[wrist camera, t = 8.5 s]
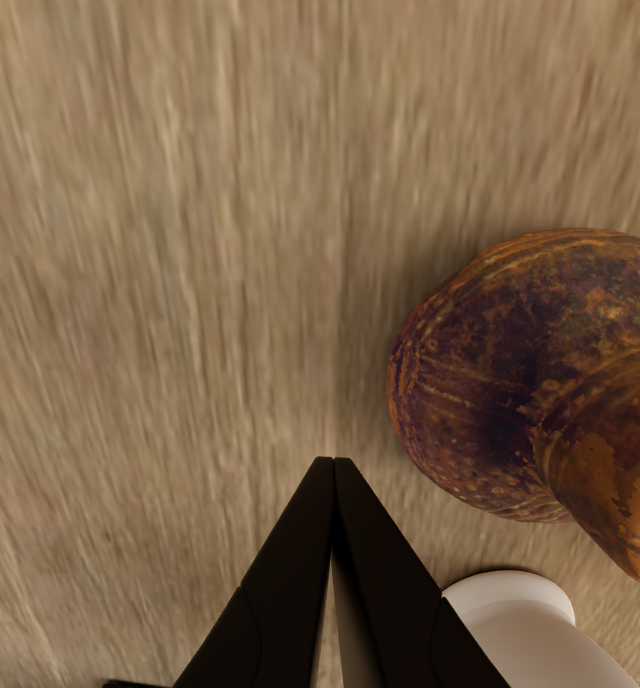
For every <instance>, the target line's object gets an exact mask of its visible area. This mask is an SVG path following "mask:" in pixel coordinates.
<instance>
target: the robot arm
mask: <svg viewBox="0 0 640 688" xmlns="http://www.w3.org/2000/svg"><path fill="white" fill-rule="evenodd" d="M330 559H331V565H332V577H333V586H334V596H335V606H336V615H337V625H338V635H339V645H340V654H341V664H342V674H343V684H344V688H511V686H510V685H509V684H508V683H507V681H506V680H505V679H504V677H503V676H502V675H501V674H500V672H499V671H498V670H497V668H496V667H495V666H494V665H493V663H492V662H491V661H490V659H489V658H488V657H487V655H486V654H485V652H484V651H483V650H482V648H481V647H480V645H479V644H478V643H477V641H476V640H475V638H474V637H473V636H472V634H471V633H470V631H469V630H468V629H467V627H466V626H465V624H464V623H463V622H462V620H461V619H460V617H459V616H458V614H457V613H456V611H455V610H454V608H453V607H452V605H451V604H450V603H449V601H448V600H447V598H446V597H442V591H441V590H440V588H439V587H438V585H437V584H436V582H435V581H434V579H433V578H432V577H431V575H430V574H429V572H428V571H427V569H426V568H425V566H424V565H423V563H422V562H421V560H420V559H419V558H418V556H417V555H416V553H415V552H414V550H413V549H412V547H411V546H410V544H409V543H408V541H407V540H406V539H405V537H404V536H403V534H402V533H401V531H400V530H399V528H398V527H397V525H396V524H395V522H394V521H393V520H392V518H391V517H390V515H389V514H388V512H387V511H386V509H385V508H384V506H383V505H382V503H381V502H380V501H379V499H378V498H377V496H376V495H375V493H374V492H373V490H372V489H371V487H370V486H369V484H368V483H367V482H366V480H365V479H364V477H363V476H362V474H361V473H360V471H359V470H358V468H357V467H356V465H355V464H354V463H353V461H352V460H351V459H350V458H343V457H335V458H334V460H333V458H332V457H322V456H318V457H316V458H315V459H314V461H313V463H312V464H311V466H310V468H309V469H308V471H307V473H306V474H305V476H304V478H303V479H302V481H301V483H300V484H299V486H298V488H297V489H296V491H295V493H294V494H293V496H292V498H291V499H290V501H289V503H288V505H287V506H286V508H285V510H284V511H283V513H282V515H281V516H280V518H279V520H278V521H277V523H276V525H275V526H274V528H273V530H272V531H271V533H270V535H269V536H268V538H267V540H266V541H265V543H264V545H263V546H262V548H261V550H260V551H259V553H258V555H257V556H256V558H255V560H254V561H253V563H252V565H251V566H250V568H249V570H248V571H247V573H246V575H245V576H244V578H243V580H242V581H241V587H240V586H239V587H238V588H237V589H236V591H235V592H234V594H233V596H232V597H231V599H230V601H229V602H228V604H227V606H226V607H225V609H224V611H223V612H222V614H221V615H220V617H219V619H218V620H217V622H216V623H215V625H214V626H213V628H212V630H211V631H210V633H209V634H208V636H207V637H206V639H205V641H204V642H203V644H202V645H201V647H200V648H199V650H198V651H197V652H196V654H195V655H194V657H193V658H192V660H191V661H190V662H189V664H188V665H187V667H186V668H185V670H184V671H183V672H182V674H181V675H180V677H179V678H178V680H177V681H176V682H175V684H174V685H173V687H172V688H316V687H317V678H318V669H319V660H320V651H321V642H322V634H323V625H324V616H325V607H326V598H327V589H328V580H329V570H330ZM102 688H138V687H131V686H124V685H117V684H110V683H106V684H103V686H102Z"/></svg>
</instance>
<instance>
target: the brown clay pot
mask: <svg viewBox="0 0 640 688" xmlns="http://www.w3.org/2000/svg"><path fill="white" fill-rule="evenodd" d="M545 389H546V390H545ZM385 390H386V405H387V408H388V411H389V415H390V421H391V423H392V425H393V428H394V430H395V433H396V435H397V437H398V439H399V440H400V442H401V444H402V446H403V447H404V449H405V451H406V452H407V454H408V455H409V457H410V458H411V460H412V461H413V462H414V463H415V465H416V466H417V467H418V469H419V470H420V471H421V472H422V473H423V474H424V475H426V476H427V477H428V478H429V479H431V480H432V481H433V482H434V483H435V484H437V485H438V486H439V487H440V488H442V489H443V490H445V491H446V492H448V493H449V494H451V495H453V496H454V497H455V498H457V499H459V500H461V501H463V502H464V503H466V504H468V505H470V506H472V507H476V508H478V509H481V510H483V511H485V512H488V513H491V514H493V515H495V516H498V517H502V518H506V519H513V520H515V521H518V522H539V523H562V522H573V521H577V523H578V524H579V525H580V526H581V527H582V528H583V529H584V530H585V531H586V532H587V533H588V534H589V535H590V536H591V538H592V539H593V540H594V541H595V542H596V543H597V544H598V545H599V546H600V547H601V548H602V550H603V551H604V552H605V553H606V554H607V555H608V556H609V557H610V558H611V559H612V560H613V561H614V562H615V563H616V564H617V565H618V566H619V567H620V568H621V569H622V570H623V571H624V572H625V573H627V574H628V575H629V576H630V577H632V578H633V579H635V580H636V581H638V582H640V238H638V237H636V236H632V235H629V234H625V233H621V232H616V231H610V230H602V229H588V228H567V229H560V230H550V231H542V232H535V233H529V234H525V235H521V236H518V237H515V238H512V239H510V240H508V241H507V242H503V243H500V244H497V245H493V246H491V247H488V248H486V249H484V250H483V251H481V252H480V253H479V254H478V256H477V257H475V258H474V259H473V261H472V262H471V263H470V264H469V265H468V266H467V267H465V268H464V269H462V270H461V271H459V272H457V273H455V274H454V275H452V276H451V277H450V278H448V279H447V280H446V281H445V282H444V283H443V284H442V285H440V286H439V287H438V288H436V289H434V290H432V291H431V292H429V293H427V294H426V295H425V296H424V297H423V298H421V299H420V300H419V301H418V302H417V304H416V305H415V306H414V308H413V310H412V312H411V313H410V315H409V316H408V317H407V319H406V320H405V321H404V323H403V325H402V327H401V328H400V330H399V333H398V335H397V337H396V339H395V342H394V345H393V348H392V351H391V354H390V357H389V360H388V364H387V371H386V387H385Z"/></svg>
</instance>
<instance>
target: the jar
mask: <svg viewBox="0 0 640 688" xmlns="http://www.w3.org/2000/svg"><path fill="white" fill-rule="evenodd" d="M442 597H446V598H447V600H448V601H449V603H450V604H451V605H452V607H453V608H454V610H455V611H456V613H457V614H458V616H459V617H460V619H461V620H462V622H463V623H464V624H465V626H466V627H467V629H468V630H469V631H470V633H471V634H472V636H473V637H474V638H475V640H476V641H477V643H478V644H479V645H480V647H481V648H482V650H483V651H484V652H485V654H486V655H487V657H488V658H489V659H490V661H491V662H492V663H493V665H494V666H495V667H496V668H497V670H498V671H499V672H500V674H501V675H502V676H503V677H504V679H505V680H506V681H507V683H508V684H509V685H510V686H511V688H640V687H639V686H638V685H637V683H636V682H635V681H634V680H633V679H632V678H631V677H630V676H629V675H628V674H627V672H626V671H625V670H624V669H623V668H622V667H621V666H620V665H619V664H618V663H617V662H616V661H615V660H614V659H613V658H612V657H611V656H610V655H609V654H608V653H607V652H605V651H604V650H603V649H602V648H601V647H600V646H599V645H598V644H597V643H595V642H594V641H593V640H592V639H591V638H590V637H589V636H587V635H586V634H585V633H584V632H583V631H581V630H580V629H578V628H576V627H575V617H574V612H573V608H572V605H571V603H570V601H569V599H568V597H567V595H566V594H565V593H564V591H563V590H562V589H561V588H560V587H559V586H557V585H556V584H555V583H553V582H552V581H550V580H548V579H546V578H544V577H542V576H539V575H536V574H533V573H528V572H523V571H511V570H504V571H492V572H487V573H481V574H477V575H474V576H471V577H468V578H465V579H463V580H461V581H459V582H457V583H455V584H453V585H451V586H450V587H448V588H447V589H445V590H444V591H443V592H442Z"/></svg>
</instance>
